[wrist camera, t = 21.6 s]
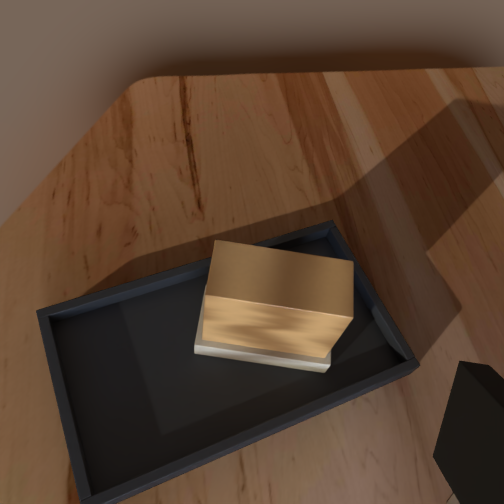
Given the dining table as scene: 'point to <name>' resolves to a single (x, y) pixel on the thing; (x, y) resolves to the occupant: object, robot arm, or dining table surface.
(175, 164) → the dining table surface
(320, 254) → the tray
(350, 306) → the eraser
